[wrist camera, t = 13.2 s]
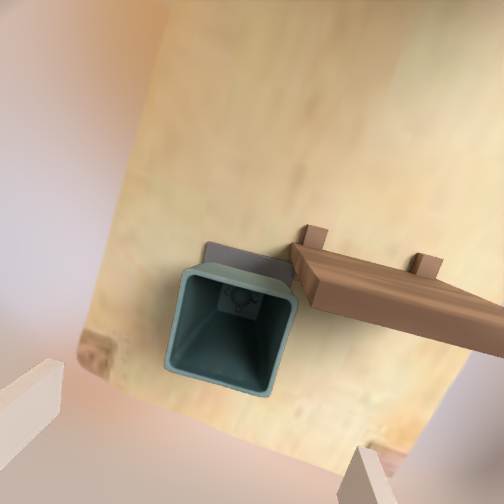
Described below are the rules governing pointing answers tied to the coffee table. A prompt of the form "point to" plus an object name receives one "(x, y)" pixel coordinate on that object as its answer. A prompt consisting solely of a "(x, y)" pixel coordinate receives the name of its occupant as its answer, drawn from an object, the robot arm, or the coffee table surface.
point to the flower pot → (230, 328)
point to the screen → (396, 296)
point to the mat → (249, 263)
